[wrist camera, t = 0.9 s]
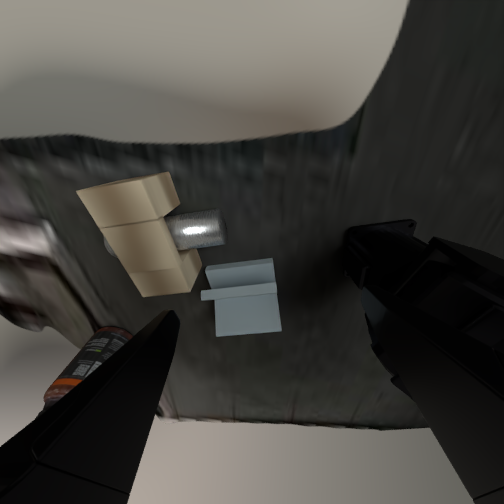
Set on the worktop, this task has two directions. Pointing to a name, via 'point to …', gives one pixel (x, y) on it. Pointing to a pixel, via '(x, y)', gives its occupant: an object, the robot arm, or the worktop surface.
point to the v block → (244, 297)
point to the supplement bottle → (86, 362)
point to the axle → (193, 230)
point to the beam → (143, 232)
